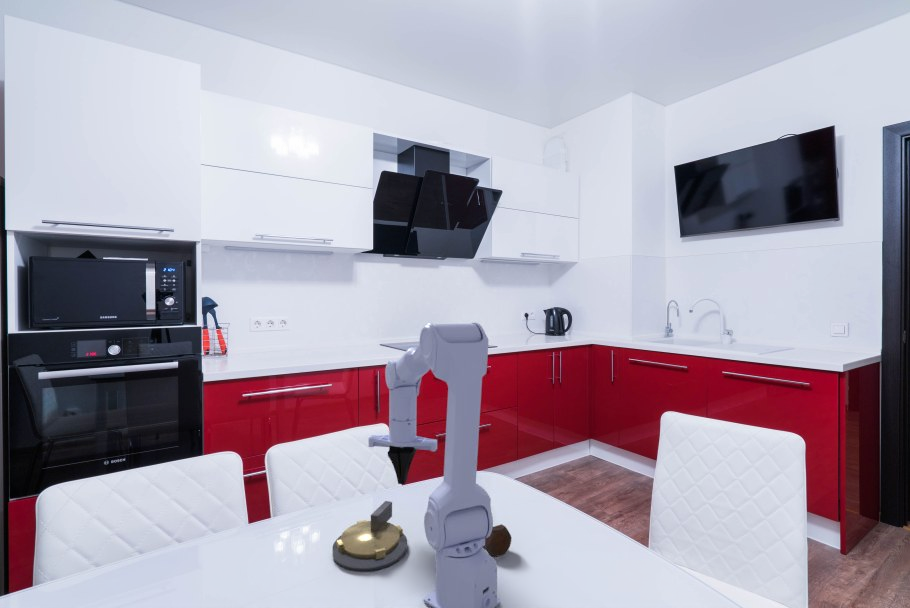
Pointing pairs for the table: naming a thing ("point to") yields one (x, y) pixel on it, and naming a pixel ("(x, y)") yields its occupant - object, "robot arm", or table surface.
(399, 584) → the table surface
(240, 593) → the table surface
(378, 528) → the tabbed brass dial
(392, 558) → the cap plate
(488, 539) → the bolt
